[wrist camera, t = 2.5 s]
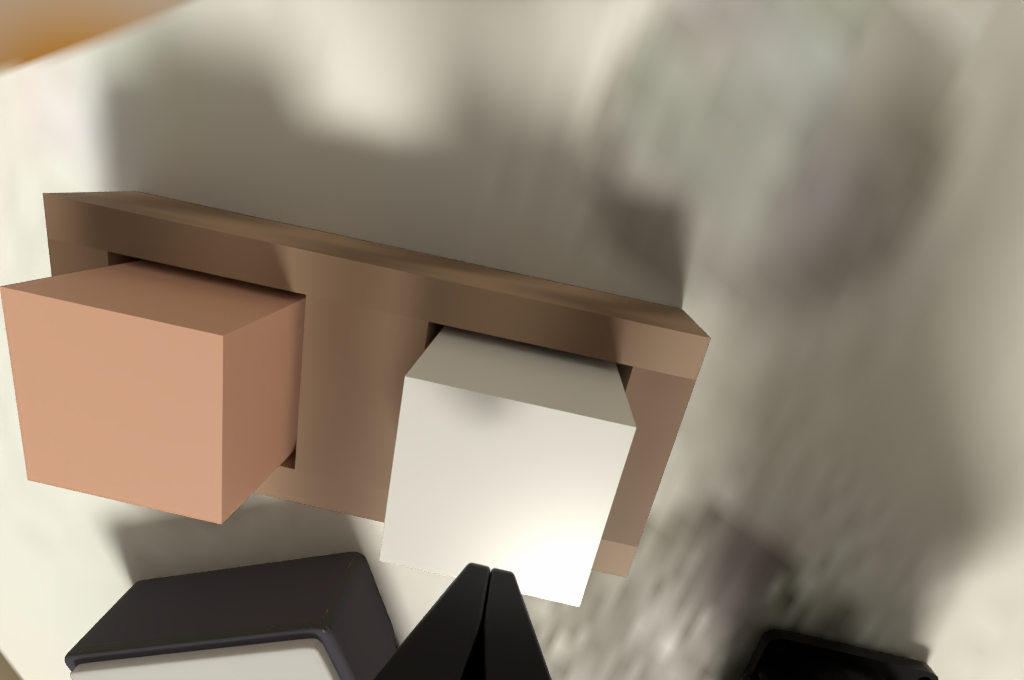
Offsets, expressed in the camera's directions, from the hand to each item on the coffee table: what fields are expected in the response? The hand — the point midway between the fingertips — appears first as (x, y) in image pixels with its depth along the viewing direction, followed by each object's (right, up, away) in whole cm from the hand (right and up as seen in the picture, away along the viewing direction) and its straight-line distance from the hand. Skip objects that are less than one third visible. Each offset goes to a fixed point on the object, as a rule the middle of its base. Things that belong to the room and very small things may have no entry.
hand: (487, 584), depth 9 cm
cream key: (0, +2, +6) cm, 6 cm away
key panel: (-4, +4, +8) cm, 10 cm away
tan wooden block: (-8, +4, +6) cm, 11 cm away
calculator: (-9, -12, +14) cm, 21 cm away
